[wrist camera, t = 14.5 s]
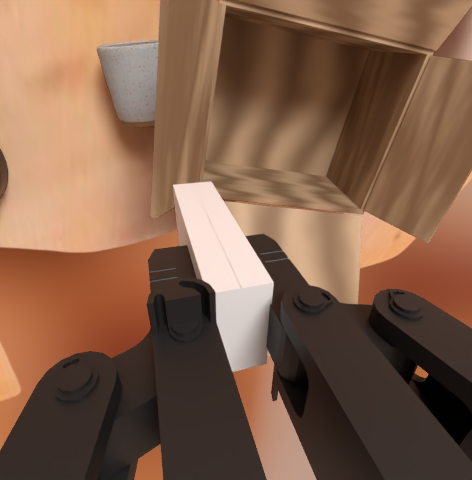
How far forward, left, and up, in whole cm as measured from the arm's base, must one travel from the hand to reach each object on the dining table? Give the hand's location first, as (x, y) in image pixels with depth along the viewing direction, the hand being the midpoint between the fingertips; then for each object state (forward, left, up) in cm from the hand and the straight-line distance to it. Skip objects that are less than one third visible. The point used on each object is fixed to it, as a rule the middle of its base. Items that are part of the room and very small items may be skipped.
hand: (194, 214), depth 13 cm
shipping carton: (+12, +4, -33) cm, 35 cm away
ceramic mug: (-4, +1, -33) cm, 33 cm away
